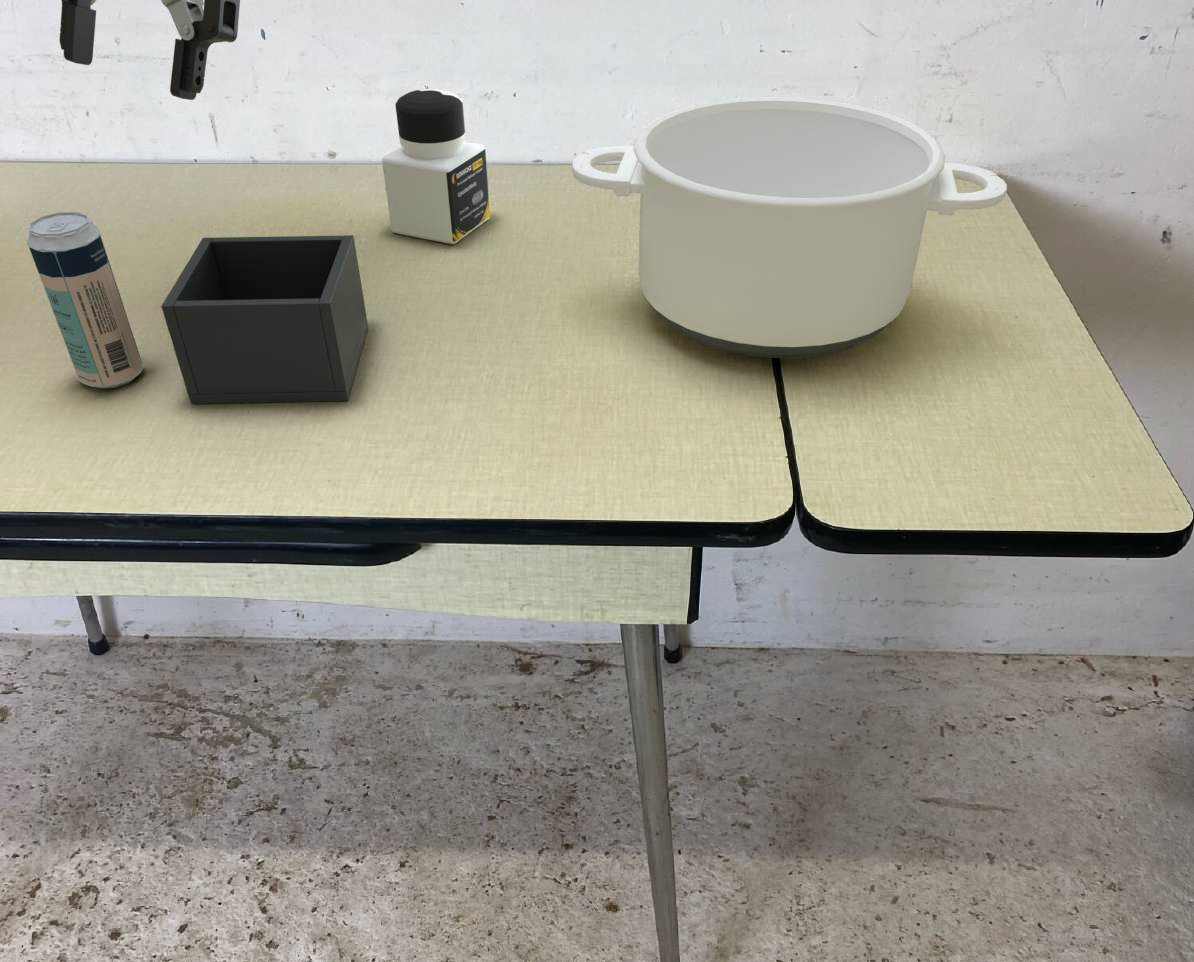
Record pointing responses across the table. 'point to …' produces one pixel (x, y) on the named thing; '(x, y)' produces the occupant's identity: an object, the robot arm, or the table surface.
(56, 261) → the beer can
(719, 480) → the table surface
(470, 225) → the medicine bottle
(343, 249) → the bin
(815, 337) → the pot
